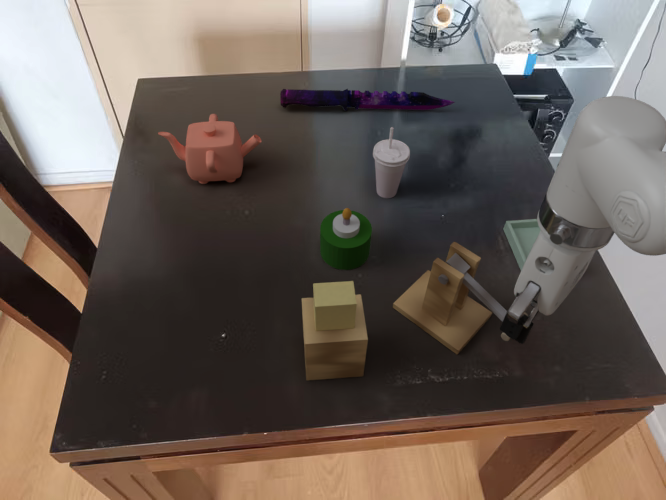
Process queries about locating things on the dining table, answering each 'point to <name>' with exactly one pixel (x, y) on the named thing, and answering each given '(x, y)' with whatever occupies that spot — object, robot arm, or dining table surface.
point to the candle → (345, 239)
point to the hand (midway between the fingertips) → (531, 311)
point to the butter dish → (521, 237)
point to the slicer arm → (478, 289)
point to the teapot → (213, 150)
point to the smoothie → (389, 165)
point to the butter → (334, 305)
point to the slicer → (445, 302)
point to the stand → (334, 346)
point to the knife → (362, 99)
